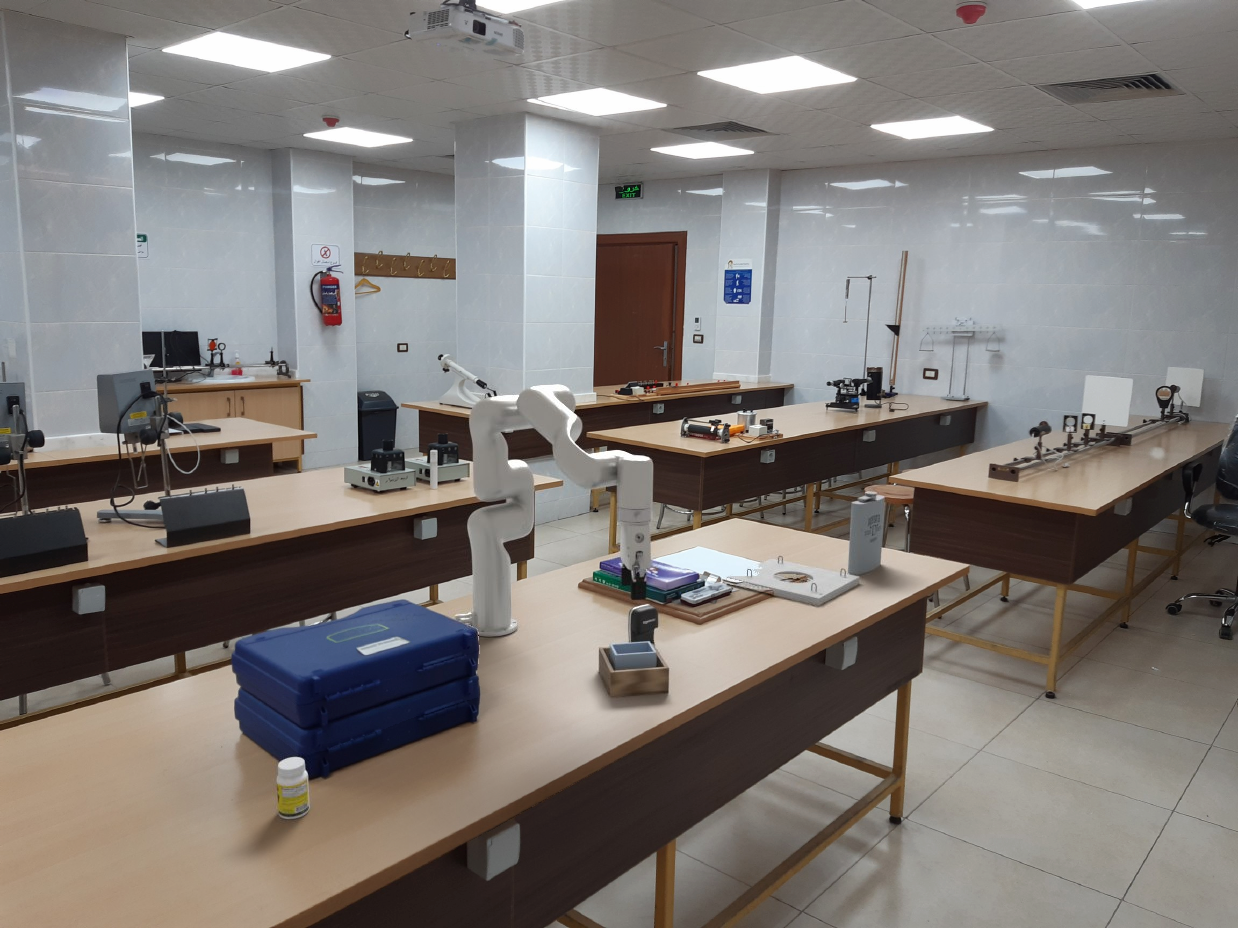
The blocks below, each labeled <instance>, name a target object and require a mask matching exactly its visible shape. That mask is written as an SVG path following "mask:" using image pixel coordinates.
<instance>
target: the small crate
mask: <svg viewBox="0 0 1238 928" xmlns="http://www.w3.org/2000/svg"><path fill="white" fill-rule="evenodd" d="M609 647H610V657H609V662H610V664H611V666H612V668H613V670H614V671H617V670H630V669H644V668H656V661H657V652H656V651H655V649H654V648H653V646H652V644H651V643H650V641H647V642H632V643H629V642H621V643H617V642H616V643H609Z"/></svg>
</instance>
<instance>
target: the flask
mask: <svg viewBox="0 0 1238 928" xmlns="http://www.w3.org/2000/svg"><path fill="white" fill-rule="evenodd" d="M885 499H886V497H885V495H880V494H879V495H878V492H876V491H871V490H870V491H865V492H864V495H862V496H861V497H857V500H856V501H855V500H854V501H851V508H850V509H851V511H850V525H849V526H850V527H849V529H850V530H849V544H848V563H847V574H849V575H854V576H859V575H862V574H865V573H868V572H871V571H873V570H875V569H877V568H879V567H880V566H881V562H882V547H883V533H884V531H883V529H884V517H885V516H884V515H885Z"/></svg>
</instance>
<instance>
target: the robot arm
mask: <svg viewBox="0 0 1238 928" xmlns="http://www.w3.org/2000/svg"><path fill="white" fill-rule="evenodd" d="M575 398H576V397H575V396H574V394H573V392H572V391H571V389H569V388H568V387H567V386H565V385H563V384H544V385H535V386H529V387H527V388H525V389H523V390H522V391H521V392H520V393H519V394H511V395H509V394H507V395H498V396H496V395H495V396H489V397H486V398H483V399H481V400H479V401H478V402H476V403H475V404H474V405H473V407H472V408H471V410H470V413H469V418H468V422H469V424H468V425H469V431H470V436H471V442H472V476H473V477H472V481H473V482H472V483H473V492H474V494H475V497H476V498H477V499H478V500H479V501H482V502H487V503H489V502H498V501H502V500H506V501H505V502H504V503H498V504H493V505H488V506H484V507H481V508H478V509H476V510H475V511H473V512H472V513H471V514H470V515H469V517H468V519H467V525H466V526H467V528H466V529H467V532H468V533H467V534H468V538H469V542H470V549H471V563H472V564H471V565H472V567H471V569H472V601H473V602H472V605H473V606H472V607H473V608H471V611H469V612H467V613H455V615H454V617H455V619H456V620H457V621H459V623H460V622H462V623H464V624H467V626H468V625H471V626H473V627H474V628H477V629H478V632H479V637H487V638H488V637H490V638H491V637H492V638H493V637H501V636H506V635H509V634H511V633H514V632H515V631H516V630H517V629H518V621H517V620H516V619H515V618H513V617H512V579H511V578H512V572H511V571H512V570H511V569H512V566H511V563H512V562H511V557H510V555H509V552H508V551H507V550H506V548H505V547H504V543H507V542H509V541H514V540H517V539H521V538H524V537H526V536H528V535H529V534H530V533H531V532H532V529H533V528H534V523H535V478H534V475H533V472H532V469H531V468H530V466H529V465H528V463H527V462H525V461H523V460H521V459H509V447H508V443H507V440H506V439H505V437H504V435H503V434H502V433H501V432H508V431H509V432H510V431H519V430H528V429H534V430H535V431H537V432H538V433H539V434H540V435H541V436H542V437H543V438H545V439H546V440H547V441H548V442H549V443H550V444H551V445H552V453H553V458H554V461H555V464H556V465H557V467H558V469H559V471H561V472H562V473H563V475H564V476H566V477H567V478H568V479H569V480H570V481H572V483H573V484H574V485H577V486H578V487H580V488H581V489H585V490H588V491H590V490H597V489H598V490H599V489H601V488H602V489H603V488H606V487H607V488H608V487H613V486H616V522H617V523H619V524H620V533H619V534H620V537H619V538H620V539H619V544H620V545H619V554H620V555H619V557H620V559H621V571H620V572H621V573H620V576H621V578H620V579H621V580H620V581H621V582H620V584H621V586H622V587H627V586H630V599H631V600H632V601H642V600H646V599H647V572H646V570H647V571H650V570H651V568H652V549H651V545H652V541H651V531H650V530H651V529H650V524H651V523H652V522H653V508H654V507H653V500H654V499H653V498H654V497H653V496H654V495H653V494H654V491H653V489H654V463H653V459H652V458H650V457H649V456H645V455H637V454H631V453H629V452H626V451H623V450H619V449H618V450H617V449H615V450H614V449H613V450H607V451H600V452H593V453H587V452H585V451H584V450H583V449H582V448H581V447H579V445H577V444H576V443H575V442H576V441H577V440H578V438H579V437H580V435H581V434H582V430H583V421H582V419H581V418H580V416H578V415H577V414H576V413H574V412H575V410H576V406H577V405H576V403H577V402H576V399H575Z"/></svg>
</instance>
